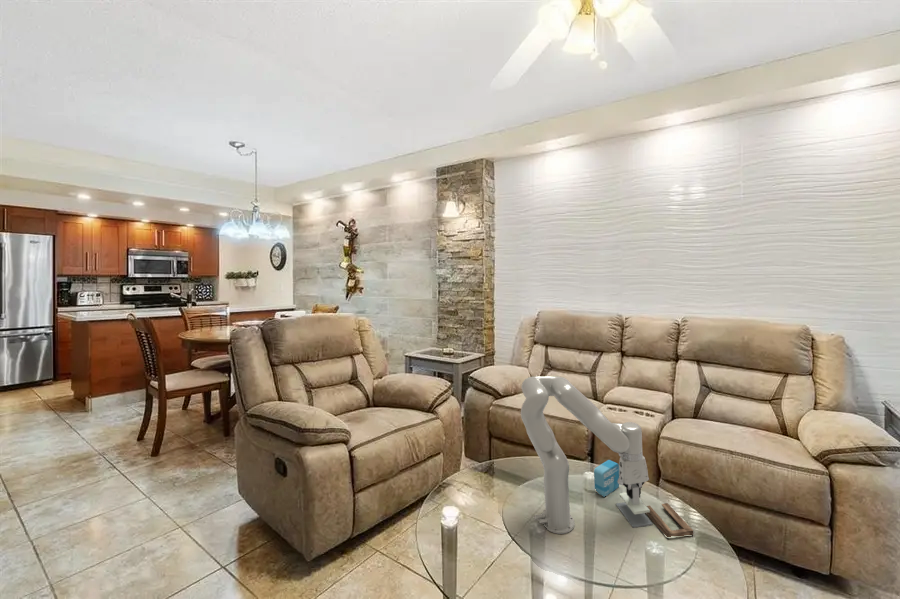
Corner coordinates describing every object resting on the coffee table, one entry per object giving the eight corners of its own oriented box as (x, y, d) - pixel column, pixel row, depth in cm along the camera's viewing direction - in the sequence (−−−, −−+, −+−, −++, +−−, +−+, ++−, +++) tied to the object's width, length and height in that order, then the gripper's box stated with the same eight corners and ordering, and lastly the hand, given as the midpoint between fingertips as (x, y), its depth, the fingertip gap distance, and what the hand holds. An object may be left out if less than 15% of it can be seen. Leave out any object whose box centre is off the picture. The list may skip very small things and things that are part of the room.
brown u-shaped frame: (667, 539, 151) (667, 534, 151) (644, 511, 167) (643, 506, 166) (693, 535, 152) (693, 530, 151) (667, 507, 167) (667, 503, 167)
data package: (603, 498, 177) (602, 473, 175) (594, 493, 181) (593, 468, 179) (619, 486, 183) (618, 462, 182) (610, 482, 187) (609, 458, 185)
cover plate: (634, 514, 159) (633, 495, 157) (619, 495, 170) (618, 477, 169) (649, 512, 159) (649, 493, 158) (633, 493, 171) (633, 475, 170)
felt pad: (633, 527, 158) (632, 526, 158) (615, 504, 172) (615, 503, 172) (652, 525, 159) (652, 523, 159) (634, 502, 173) (633, 500, 172)
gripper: (617, 461, 157) (619, 505, 160) (657, 456, 158) (658, 499, 161) (608, 451, 165) (610, 493, 167) (646, 446, 166) (647, 487, 168)
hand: (633, 495), depth 164 cm, fingers closed on cover plate, 2 cm apart
